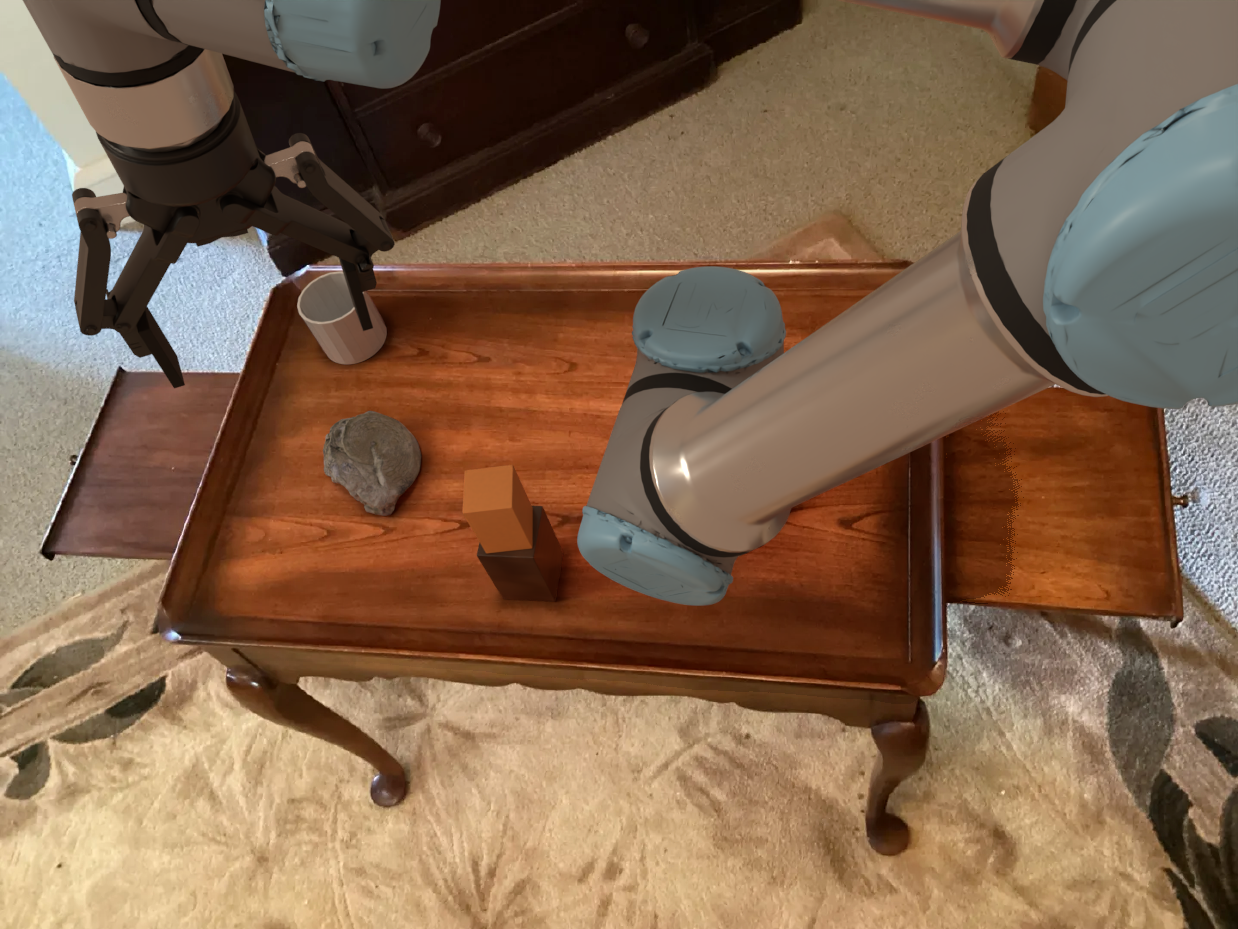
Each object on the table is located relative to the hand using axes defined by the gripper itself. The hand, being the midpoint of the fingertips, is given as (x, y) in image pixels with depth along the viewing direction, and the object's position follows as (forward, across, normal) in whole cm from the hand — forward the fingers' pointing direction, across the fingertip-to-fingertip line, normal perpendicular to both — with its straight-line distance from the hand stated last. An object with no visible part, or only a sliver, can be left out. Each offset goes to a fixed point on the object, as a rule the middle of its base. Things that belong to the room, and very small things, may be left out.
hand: (271, 343), depth 70 cm
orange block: (+17, -13, +13) cm, 25 cm away
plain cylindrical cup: (+32, -7, -23) cm, 40 cm away
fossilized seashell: (+30, -4, -5) cm, 31 cm away
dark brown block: (+25, -14, +14) cm, 32 cm away
